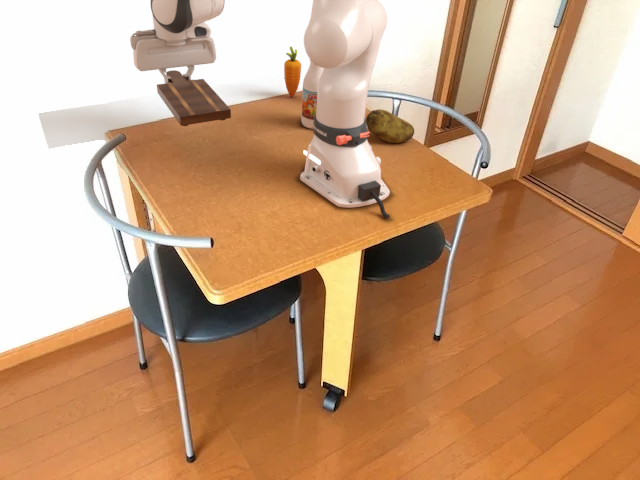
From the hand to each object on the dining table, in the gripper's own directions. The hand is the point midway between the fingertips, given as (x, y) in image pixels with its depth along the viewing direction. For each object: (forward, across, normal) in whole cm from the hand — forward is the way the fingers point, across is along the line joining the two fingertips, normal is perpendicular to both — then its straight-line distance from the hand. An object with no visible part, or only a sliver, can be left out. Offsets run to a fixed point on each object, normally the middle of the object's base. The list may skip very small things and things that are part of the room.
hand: (178, 83), depth 142 cm
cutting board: (+2, 0, -8) cm, 9 cm away
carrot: (+12, +36, +6) cm, 38 cm away
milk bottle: (+12, +34, -13) cm, 38 cm away
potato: (+12, +48, -29) cm, 57 cm away
